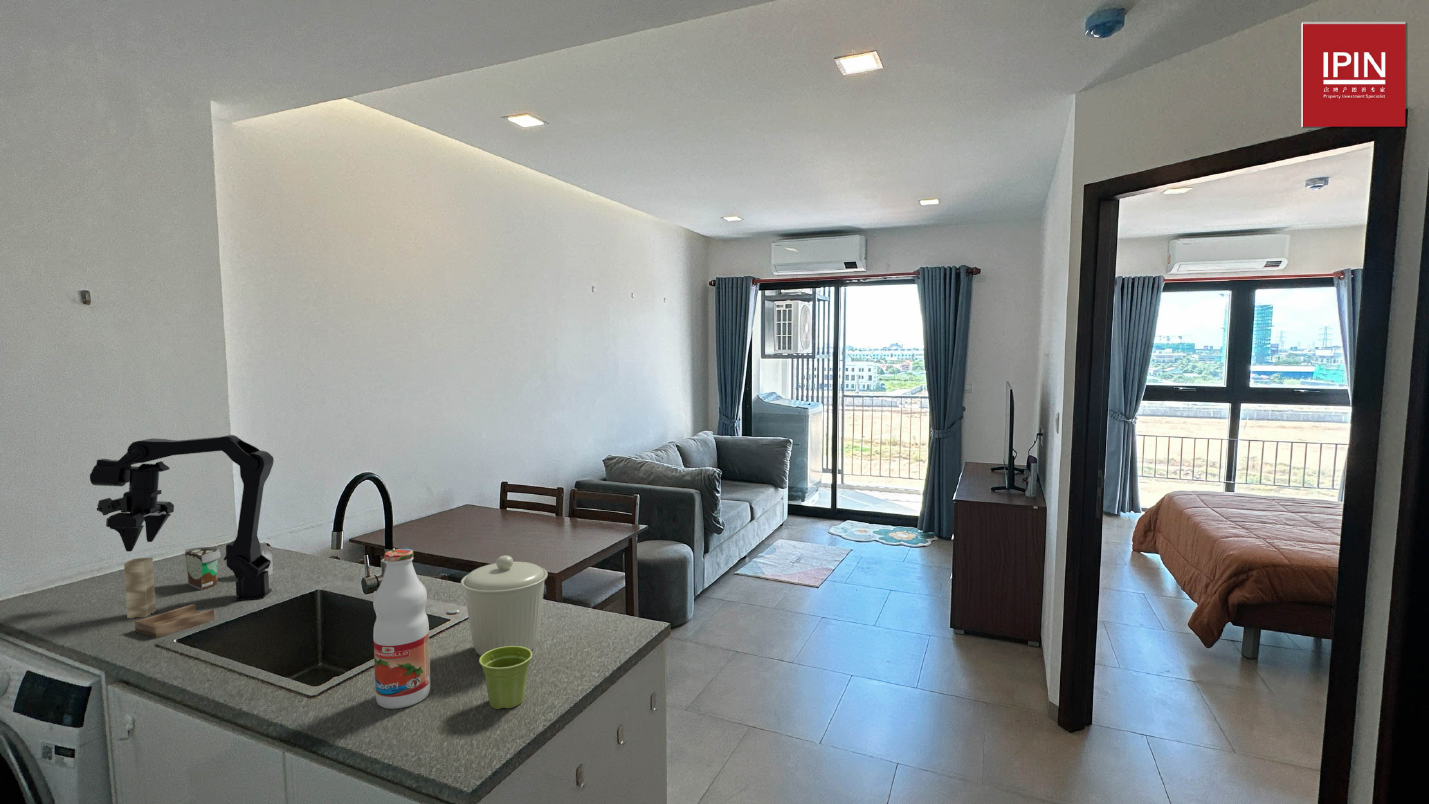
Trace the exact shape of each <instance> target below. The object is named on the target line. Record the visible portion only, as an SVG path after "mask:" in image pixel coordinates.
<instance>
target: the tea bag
mask: <svg viewBox="0 0 1429 804" xmlns="http://www.w3.org/2000/svg"><path fill="white" fill-rule="evenodd" d="M260 550H261V554H262V555H263V556H265V557H266V558H267V559H269V560H270V561H271V563H270V566H269V568H268V569H266V570H265V571H268V575H270V576H272V575H271V574H273V575H274V564H273V554H272V552H271V550H270V549H269V547H268V545H267V543H266V542H260Z"/></svg>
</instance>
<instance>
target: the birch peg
mask: <svg viewBox="0 0 1429 804" xmlns="http://www.w3.org/2000/svg"><path fill="white" fill-rule="evenodd" d="M123 564H124V582H125V583H124V584H125V596H126V597H125V598H126V601H125V602H126V615H127V616H126V617H127V619H128V618H129V619H136V618H135V617H140V618H148V617H149V616H150V615H152V614H153V613H155V612H156V596H155V595H156V594H155V577H154V576H155V575H154V558H153V556H152V557H141V558H140V557H139V558H132V559H131V560H128V561H127V562H124V563H123ZM154 611H155V612H154ZM151 613H152V614H151ZM148 615H149V616H148Z"/></svg>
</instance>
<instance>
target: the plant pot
mask: <svg viewBox="0 0 1429 804" xmlns="http://www.w3.org/2000/svg"><path fill="white" fill-rule="evenodd" d="M532 658H533V651H532V650H530V649H528V648H525V647H521V646H505V647H499V648H496V649H492V650H490V651H488V652H486V653H484V654H483V655H482V656H480V657H479V660H478V661H479V662H478V663H479V665H480V666H481V667H482V671H483V673H484V678H485V682H486V689H487V696H488V702H489V705H490V707H492V708H493V709H496V710H501V709H503V708H505V709H512V708H514V707H515V708H516V707H517V706H519V705H520V704H521V703H523V700H524V698H525V691H526V682H527V676H528V670H529V666H530V664H531V663H530V661H531V659H532Z"/></svg>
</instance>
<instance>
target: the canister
mask: <svg viewBox="0 0 1429 804" xmlns="http://www.w3.org/2000/svg"><path fill="white" fill-rule="evenodd" d="M547 578H548V571H547V570H546V569H545V568H543V567H541V566H540V565H537V564H534V563H532V562H525V561H514V559H513V557H512V556H510V555H501V556H499V557H498V558H497V559H496V561H495V563H490V564H485V565H484V566H480V567H477V568H476V569H473V570H472V571H471V572H469V573H468V574H466V575H464V577H463V578H462V579H461V580H460V585H461V587H462V588H463V589H464V594H465V595H464V597H465V602H466V608H467V616H468V622H469V623H468V624H469V630H470V634H471V641H472V645H473V647H474V650H475V652H476V653H477V654H478V655H479V656H480V657H481V656H482V655H483V654H484V653H486V652H488V651H490V650H492V649H496V648H499V647H505V646H521V647H525V648H528V649H530V650H531V651H532V650H533V649H534V648H535V647H536V645H537V643H538V641H539V640H538V639H539V637H540V632H541V631H540V630H541V622H542V614H543V613H542V612H543V600H544V591H545V581H546V580H547Z"/></svg>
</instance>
